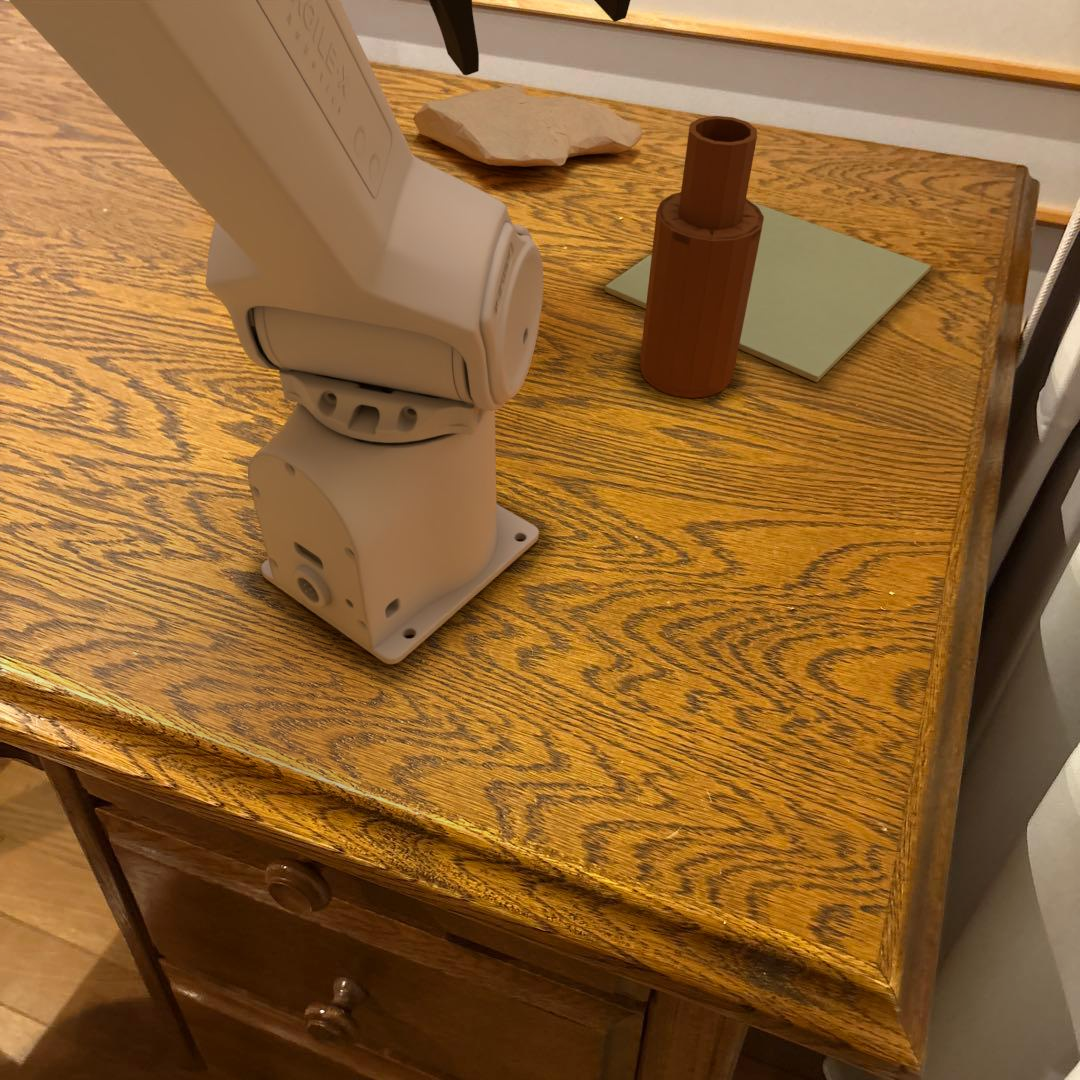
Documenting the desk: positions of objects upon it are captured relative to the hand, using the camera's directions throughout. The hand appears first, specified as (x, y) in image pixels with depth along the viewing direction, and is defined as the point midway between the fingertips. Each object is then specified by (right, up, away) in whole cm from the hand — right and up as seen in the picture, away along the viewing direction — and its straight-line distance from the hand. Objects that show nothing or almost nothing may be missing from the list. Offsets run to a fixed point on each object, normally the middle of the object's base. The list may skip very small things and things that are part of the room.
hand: (537, 35), depth 46 cm
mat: (+14, -8, +14) cm, 21 cm away
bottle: (+8, -14, +7) cm, 18 cm away
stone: (-1, +5, +27) cm, 27 cm away
